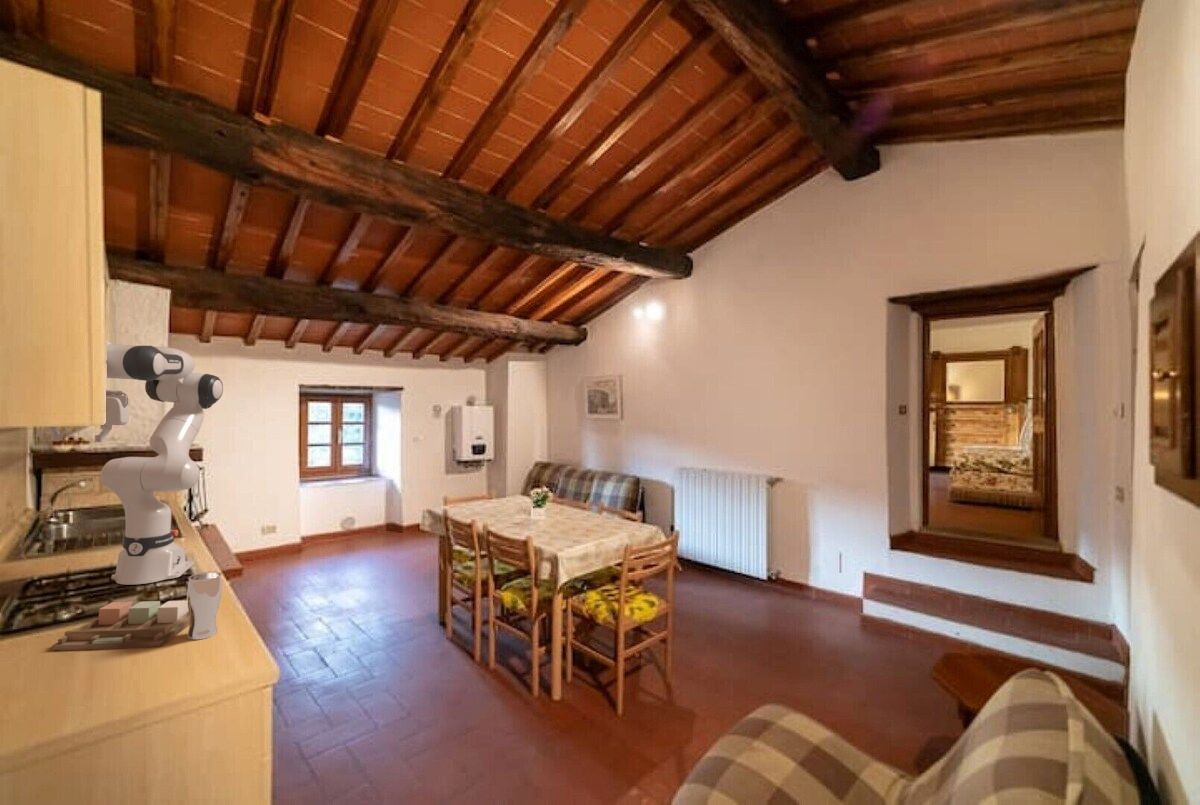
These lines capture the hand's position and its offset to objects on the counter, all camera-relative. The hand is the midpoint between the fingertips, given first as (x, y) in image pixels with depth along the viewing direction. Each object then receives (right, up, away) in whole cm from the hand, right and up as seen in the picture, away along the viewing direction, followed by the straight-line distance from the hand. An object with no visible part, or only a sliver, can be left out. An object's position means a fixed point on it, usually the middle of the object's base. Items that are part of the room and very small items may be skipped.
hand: (78, 441), depth 136 cm
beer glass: (+37, -49, -5) cm, 61 cm away
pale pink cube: (+25, -47, 0) cm, 53 cm away
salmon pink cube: (+12, -46, -3) cm, 48 cm away
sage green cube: (+19, -47, -2) cm, 50 cm away
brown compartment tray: (+19, -48, -6) cm, 52 cm away
